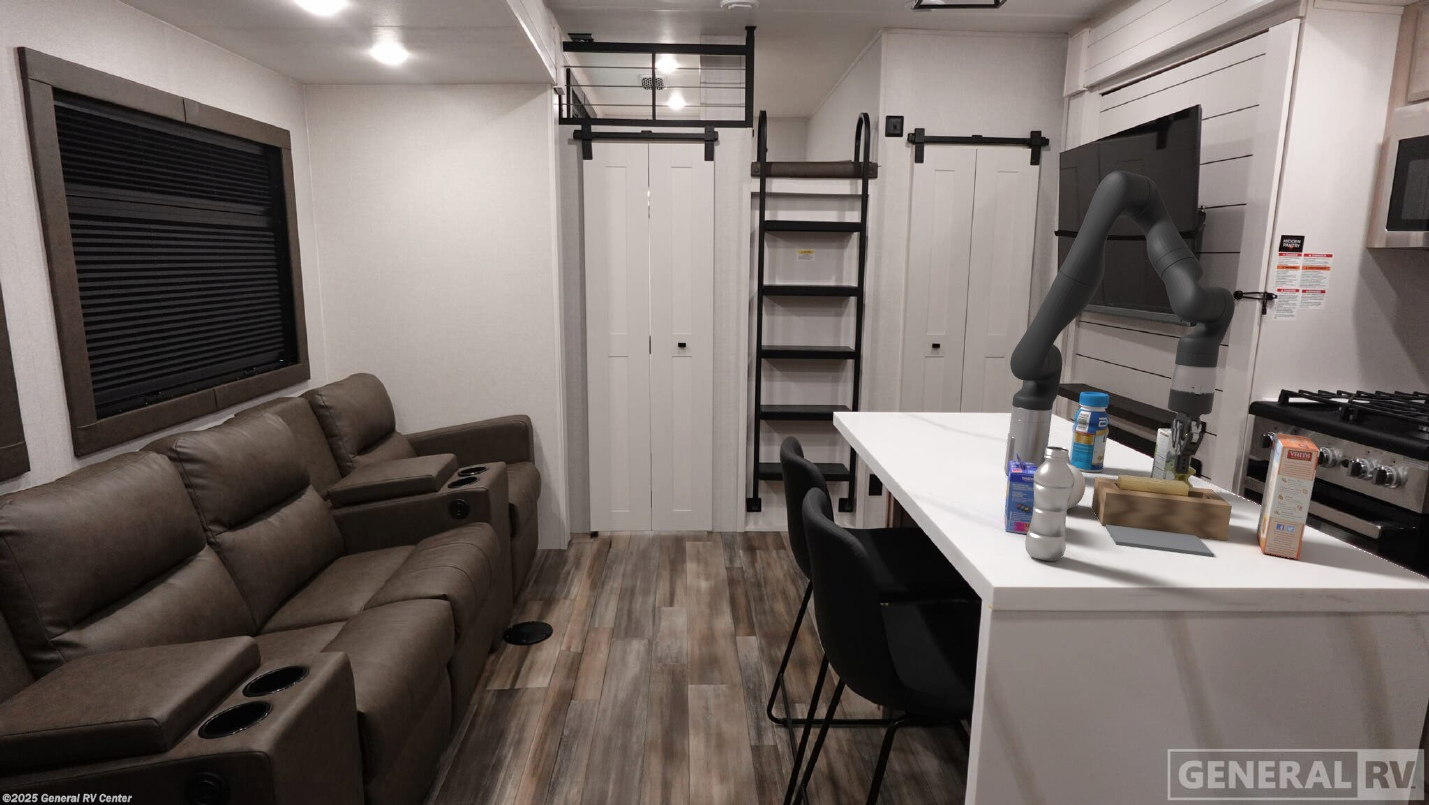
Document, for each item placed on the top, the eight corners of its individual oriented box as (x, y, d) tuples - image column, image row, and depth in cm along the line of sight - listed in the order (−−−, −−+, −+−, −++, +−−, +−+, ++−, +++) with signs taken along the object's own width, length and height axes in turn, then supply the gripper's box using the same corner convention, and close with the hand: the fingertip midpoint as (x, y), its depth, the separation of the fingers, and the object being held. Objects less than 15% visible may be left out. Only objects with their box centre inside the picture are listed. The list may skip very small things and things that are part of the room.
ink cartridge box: (1002, 516, 157) (1009, 448, 155) (1031, 520, 155) (1039, 451, 153) (1003, 531, 148) (1011, 459, 145) (1034, 536, 146) (1042, 463, 144)
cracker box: (1301, 561, 138) (1321, 449, 134) (1260, 554, 141) (1279, 444, 137) (1292, 539, 149) (1311, 436, 146) (1255, 533, 152) (1273, 431, 149)
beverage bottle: (1063, 463, 203) (1072, 390, 200) (1096, 466, 202) (1106, 392, 198) (1073, 472, 195) (1083, 395, 191) (1108, 474, 194) (1118, 397, 190)
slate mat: (1115, 544, 143) (1116, 541, 143) (1105, 527, 152) (1105, 524, 152) (1212, 556, 139) (1213, 553, 138) (1195, 538, 148) (1196, 535, 148)
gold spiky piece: (1199, 508, 167) (1206, 465, 166) (1192, 516, 162) (1199, 470, 160) (1162, 501, 172) (1168, 458, 171) (1153, 507, 167) (1160, 463, 165)
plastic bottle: (1016, 551, 138) (1029, 444, 134) (1052, 551, 138) (1065, 444, 135) (1034, 565, 131) (1047, 453, 128) (1071, 565, 132) (1086, 453, 128)
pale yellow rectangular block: (1118, 507, 156) (1122, 479, 155) (1114, 502, 160) (1118, 474, 159) (1184, 515, 152) (1189, 486, 151) (1179, 509, 156) (1183, 481, 155)
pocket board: (1101, 525, 154) (1106, 492, 152) (1091, 508, 165) (1095, 477, 164) (1226, 540, 147) (1232, 506, 146) (1206, 521, 159) (1211, 489, 157)
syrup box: (1173, 486, 184) (1182, 428, 182) (1186, 494, 179) (1195, 433, 176) (1149, 485, 185) (1157, 427, 182) (1160, 492, 179) (1169, 432, 177)
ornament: (1081, 505, 167) (1088, 452, 165) (1082, 519, 158) (1089, 462, 155) (1031, 498, 171) (1037, 446, 169) (1029, 510, 162) (1035, 456, 160)
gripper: (1162, 382, 158) (1151, 463, 161) (1180, 391, 145) (1168, 479, 148) (1203, 385, 155) (1191, 467, 158) (1225, 394, 143) (1212, 483, 146)
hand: (1180, 472), depth 153 cm, fingers closed
